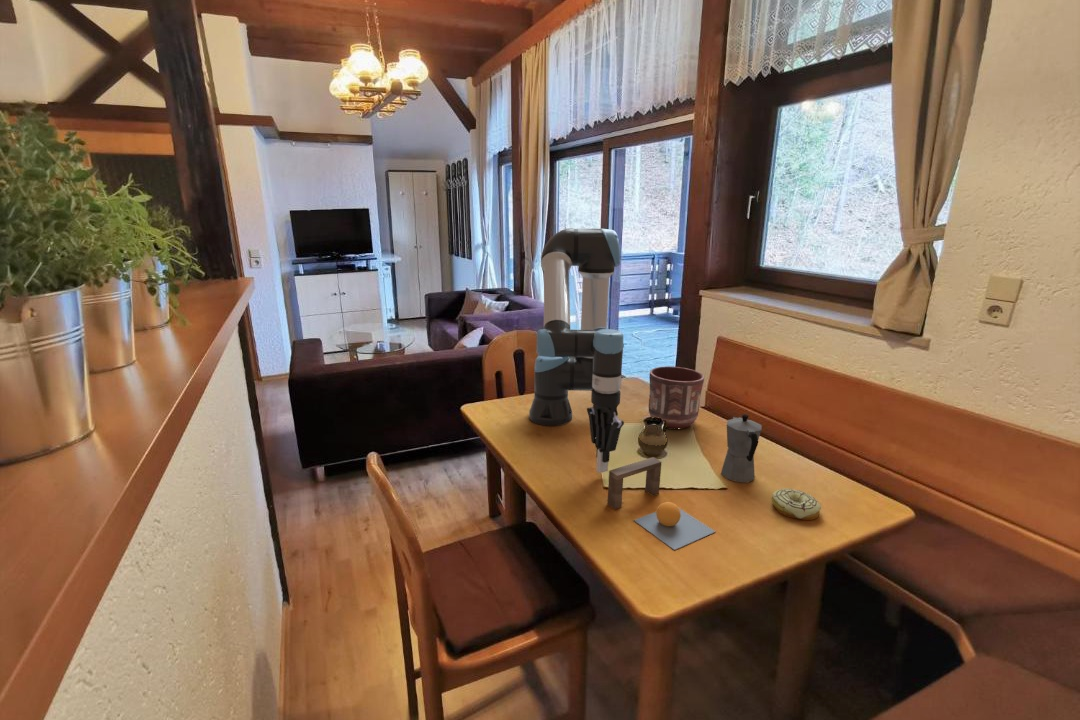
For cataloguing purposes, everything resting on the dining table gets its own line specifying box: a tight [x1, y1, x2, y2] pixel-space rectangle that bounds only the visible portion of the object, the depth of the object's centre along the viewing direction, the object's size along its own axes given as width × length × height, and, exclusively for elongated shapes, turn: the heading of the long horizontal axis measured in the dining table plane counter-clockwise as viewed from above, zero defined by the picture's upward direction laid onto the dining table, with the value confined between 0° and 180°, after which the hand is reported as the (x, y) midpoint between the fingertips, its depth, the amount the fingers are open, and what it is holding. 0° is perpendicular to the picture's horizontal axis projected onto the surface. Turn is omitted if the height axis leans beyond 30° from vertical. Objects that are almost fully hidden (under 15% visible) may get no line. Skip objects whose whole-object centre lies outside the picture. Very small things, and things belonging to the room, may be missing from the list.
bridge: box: [607, 456, 662, 510], centre depth 131 cm, size 3×14×9 cm, turn 122°
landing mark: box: [633, 508, 717, 551], centre depth 121 cm, size 13×13×1 cm
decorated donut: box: [771, 488, 822, 521], centre depth 128 cm, size 10×11×4 cm
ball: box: [655, 501, 681, 527], centre depth 121 cm, size 6×6×6 cm
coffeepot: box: [720, 413, 762, 484], centre depth 142 cm, size 15×9×18 cm, turn 0°
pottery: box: [648, 366, 705, 430], centre depth 178 cm, size 18×18×18 cm
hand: (602, 470), depth 143 cm, fingers closed
